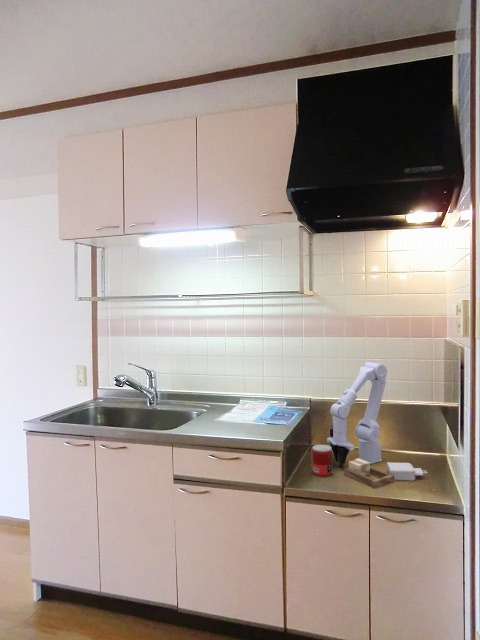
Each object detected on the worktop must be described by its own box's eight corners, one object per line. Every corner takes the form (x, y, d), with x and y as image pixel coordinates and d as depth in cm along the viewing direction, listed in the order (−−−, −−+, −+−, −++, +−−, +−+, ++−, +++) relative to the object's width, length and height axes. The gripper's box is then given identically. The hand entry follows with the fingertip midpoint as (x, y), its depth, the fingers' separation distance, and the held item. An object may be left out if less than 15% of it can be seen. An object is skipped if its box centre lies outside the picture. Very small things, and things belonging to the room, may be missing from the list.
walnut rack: (362, 469, 199) (362, 463, 199) (394, 481, 185) (394, 475, 185) (344, 475, 193) (344, 469, 193) (374, 488, 179) (374, 481, 179)
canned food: (332, 477, 191) (331, 450, 191) (312, 476, 193) (311, 450, 192) (332, 470, 199) (331, 445, 198) (313, 469, 200) (312, 444, 200)
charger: (429, 482, 184) (390, 481, 186) (424, 473, 193) (386, 472, 195) (429, 470, 184) (390, 469, 186) (424, 462, 193) (386, 461, 195)
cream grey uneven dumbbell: (343, 464, 205) (343, 451, 205) (370, 474, 192) (369, 461, 192) (333, 467, 202) (333, 454, 202) (359, 477, 189) (359, 464, 189)
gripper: (321, 429, 206) (322, 459, 207) (345, 436, 194) (345, 469, 194) (333, 426, 210) (334, 456, 210) (357, 434, 198) (357, 465, 198)
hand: (340, 462), depth 203 cm, fingers closed on cream grey uneven dumbbell, 2 cm apart
